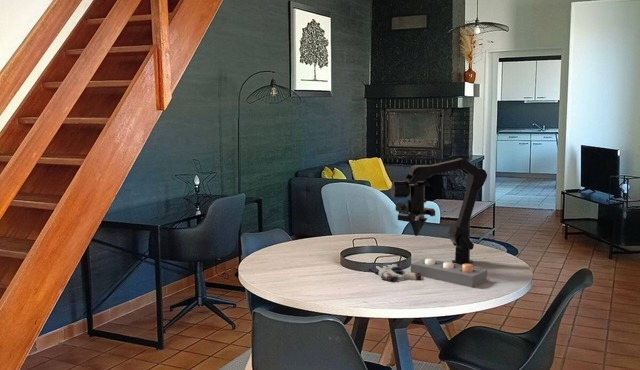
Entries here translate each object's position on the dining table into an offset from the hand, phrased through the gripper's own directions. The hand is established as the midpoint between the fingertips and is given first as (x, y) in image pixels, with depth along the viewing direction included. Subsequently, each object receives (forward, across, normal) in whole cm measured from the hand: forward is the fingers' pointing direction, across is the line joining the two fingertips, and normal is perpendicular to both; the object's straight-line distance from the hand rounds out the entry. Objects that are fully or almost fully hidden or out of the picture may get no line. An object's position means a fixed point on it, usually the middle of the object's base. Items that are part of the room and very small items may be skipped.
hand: (416, 235), depth 248 cm
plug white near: (+12, +7, +11) cm, 17 cm away
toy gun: (+13, +17, +2) cm, 21 cm away
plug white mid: (+12, +7, +19) cm, 23 cm away
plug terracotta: (+11, +7, +27) cm, 30 cm away
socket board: (+12, +7, +19) cm, 24 cm away
